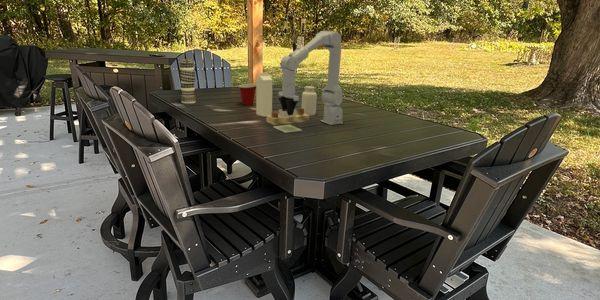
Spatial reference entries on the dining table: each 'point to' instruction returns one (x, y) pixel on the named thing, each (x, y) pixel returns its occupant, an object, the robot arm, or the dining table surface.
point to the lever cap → (286, 113)
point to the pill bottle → (309, 100)
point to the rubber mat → (287, 128)
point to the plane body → (287, 118)
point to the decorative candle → (187, 81)
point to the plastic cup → (247, 93)
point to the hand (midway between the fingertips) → (287, 114)
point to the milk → (264, 95)
